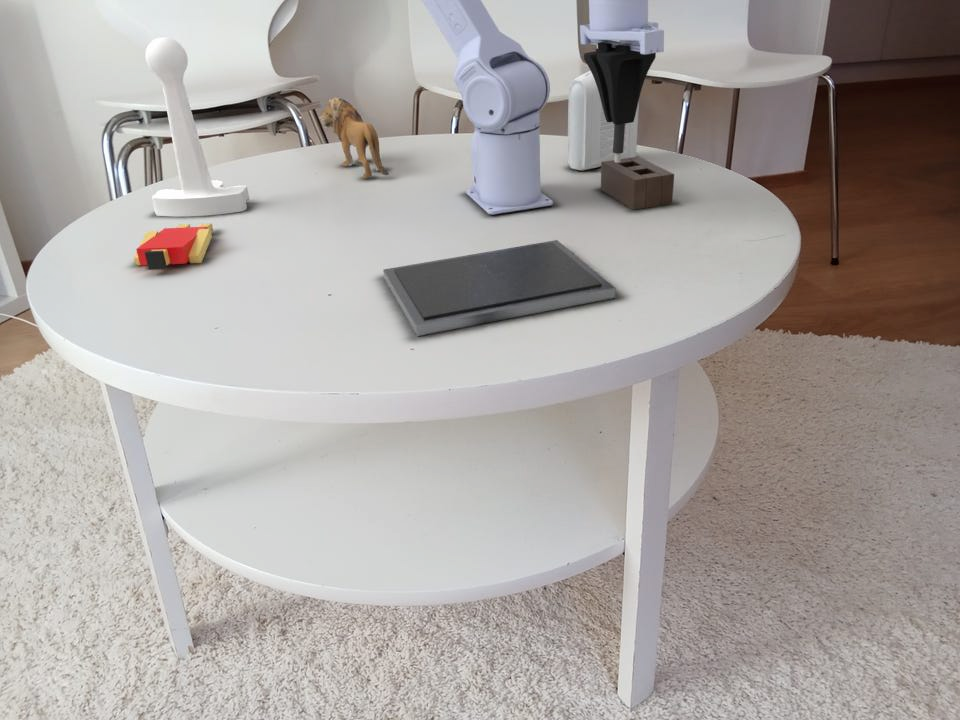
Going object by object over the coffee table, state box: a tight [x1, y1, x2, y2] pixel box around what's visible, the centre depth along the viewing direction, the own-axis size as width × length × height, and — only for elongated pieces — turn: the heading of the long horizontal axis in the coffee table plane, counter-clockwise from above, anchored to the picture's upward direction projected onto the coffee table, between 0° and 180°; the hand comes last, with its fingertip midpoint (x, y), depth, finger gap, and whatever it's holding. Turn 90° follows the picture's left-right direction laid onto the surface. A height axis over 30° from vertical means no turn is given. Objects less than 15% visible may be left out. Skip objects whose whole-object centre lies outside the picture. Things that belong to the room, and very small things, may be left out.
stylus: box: [613, 124, 625, 163], centre depth 81 cm, size 1×1×8 cm
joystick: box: [144, 36, 251, 218], centre depth 93 cm, size 11×8×20 cm
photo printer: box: [567, 70, 640, 171], centre depth 102 cm, size 10×4×12 cm, turn 123°
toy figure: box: [133, 222, 214, 270], centre depth 83 cm, size 2×7×12 cm
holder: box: [600, 156, 675, 211], centre depth 91 cm, size 5×8×4 cm, turn 18°
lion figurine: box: [318, 97, 390, 180], centre depth 107 cm, size 15×5×9 cm, turn 37°
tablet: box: [382, 239, 616, 337], centre depth 71 cm, size 13×18×1 cm
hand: (620, 122), depth 81 cm, fingers closed on stylus, 1 cm apart
